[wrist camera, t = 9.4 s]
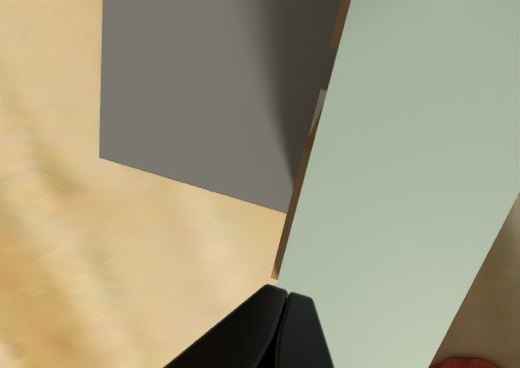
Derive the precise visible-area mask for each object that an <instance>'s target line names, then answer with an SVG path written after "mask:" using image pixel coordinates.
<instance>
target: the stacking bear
mask: <svg viewBox="0 0 520 368" xmlns="http://www.w3.org/2000/svg"><path fill="white" fill-rule="evenodd" d="M432 368H498V367H497V366H495V365H493V364H491V363H489V362H486V361H484V360H481V359H461V358H452V359H449V360H446V361H444V362H443V363H441V364H439V365H436V366H434V367H432Z"/></svg>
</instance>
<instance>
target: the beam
mask: <svg viewBox="0 0 520 368" xmlns="http://www.w3.org/2000/svg"><path fill="white" fill-rule="evenodd" d="M519 192H520V0H351V2H350V6H349V10H348V14H347V17H346V21H345V25H344V29H343V33H342V37H341V40H340V44H339V48H338V52H337V56H336V59H335V63H334V67H333V71H332V75H331V78H330V82H329V86H328V90H327V94H326V98H325V101H324V105H323V109H322V113H321V117H320V120H319V124H318V128H317V132H316V136H315V139H314V143H313V147H312V151H311V155H310V159H309V162H308V166H307V170H306V174H305V178H304V181H303V185H302V189H301V193H300V197H299V201H298V204H297V208H296V212H295V216H294V220H293V223H292V227H291V231H290V235H289V239H288V242H287V246H286V250H285V254H284V258H283V262H282V265H281V269H280V273H279V277H278V281H277V284H276V287H279V288H283V289H285V290H287V291H288V295H289V293H290V292H296V293H299V294H302V295H306V296H309V297H311V298H312V299H313V301H314V303H315V307H316V310H317V313H318V316H319V319H320V323H321V326H322V329H323V332H324V336H325V339H326V342H327V345H328V348H329V352H330V355H331V358H332V361H333V364H334V368H428V367H429V365H430V363H431V361H432V360H433V358H434V356H435V354H436V352H437V350H438V348H439V346H440V344H441V342H442V340H443V338H444V336H445V335H446V333H447V331H448V329H449V327H450V325H451V323H452V321H453V319H454V317H455V315H456V313H457V312H458V310H459V308H460V306H461V304H462V302H463V300H464V298H465V296H466V294H467V292H468V290H469V288H470V287H471V285H472V283H473V281H474V279H475V277H476V275H477V273H478V271H479V269H480V267H481V265H482V264H483V262H484V260H485V258H486V256H487V254H488V252H489V250H490V248H491V246H492V244H493V242H494V240H495V239H496V237H497V235H498V233H499V231H500V229H501V227H502V225H503V223H504V221H505V219H506V217H507V216H508V214H509V212H510V210H511V208H512V206H513V204H514V202H515V200H516V198H517V196H518V194H519ZM287 298H288V297H287Z"/></svg>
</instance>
